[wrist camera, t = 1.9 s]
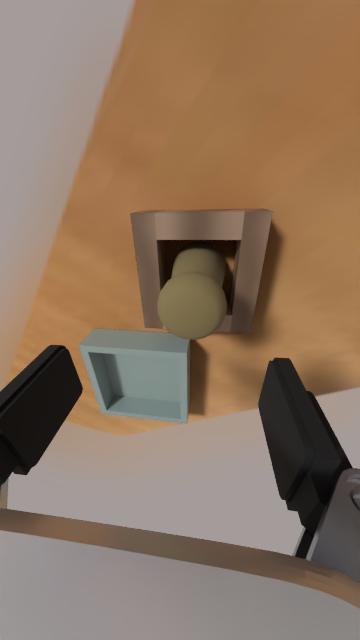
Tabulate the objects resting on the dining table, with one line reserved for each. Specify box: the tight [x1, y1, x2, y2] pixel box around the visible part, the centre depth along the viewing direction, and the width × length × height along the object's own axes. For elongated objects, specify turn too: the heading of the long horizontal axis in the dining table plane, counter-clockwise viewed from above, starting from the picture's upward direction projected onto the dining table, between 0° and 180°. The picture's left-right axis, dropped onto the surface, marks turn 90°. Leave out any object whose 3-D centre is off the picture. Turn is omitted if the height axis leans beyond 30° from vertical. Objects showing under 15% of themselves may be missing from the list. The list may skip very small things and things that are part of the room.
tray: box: [79, 328, 190, 424], centre depth 31 cm, size 14×14×4 cm
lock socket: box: [130, 209, 273, 334], centre depth 22 cm, size 12×12×4 cm
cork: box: [157, 242, 227, 340], centre depth 19 cm, size 6×6×11 cm
